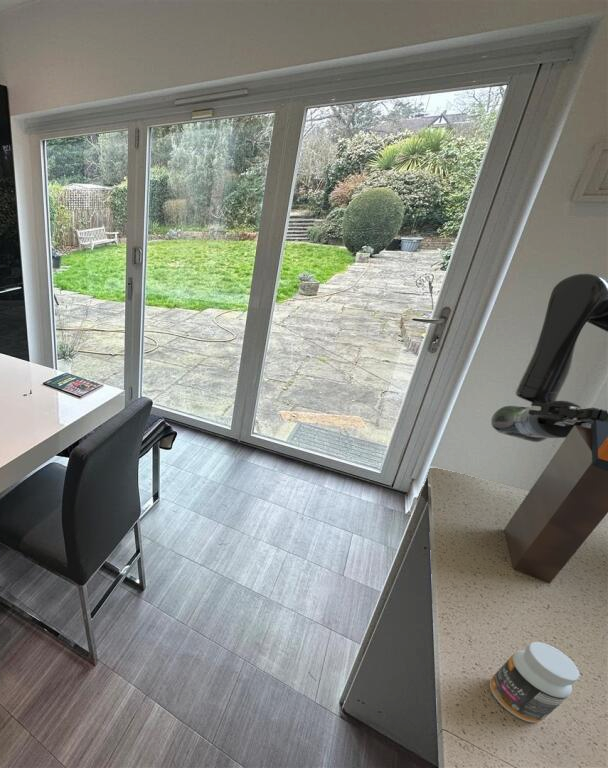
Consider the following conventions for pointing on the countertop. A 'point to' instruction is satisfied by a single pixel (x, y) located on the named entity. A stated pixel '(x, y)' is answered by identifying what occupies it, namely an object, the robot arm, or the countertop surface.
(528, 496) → the walnut stand
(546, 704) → the pill bottle
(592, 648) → the countertop surface
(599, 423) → the back pad
